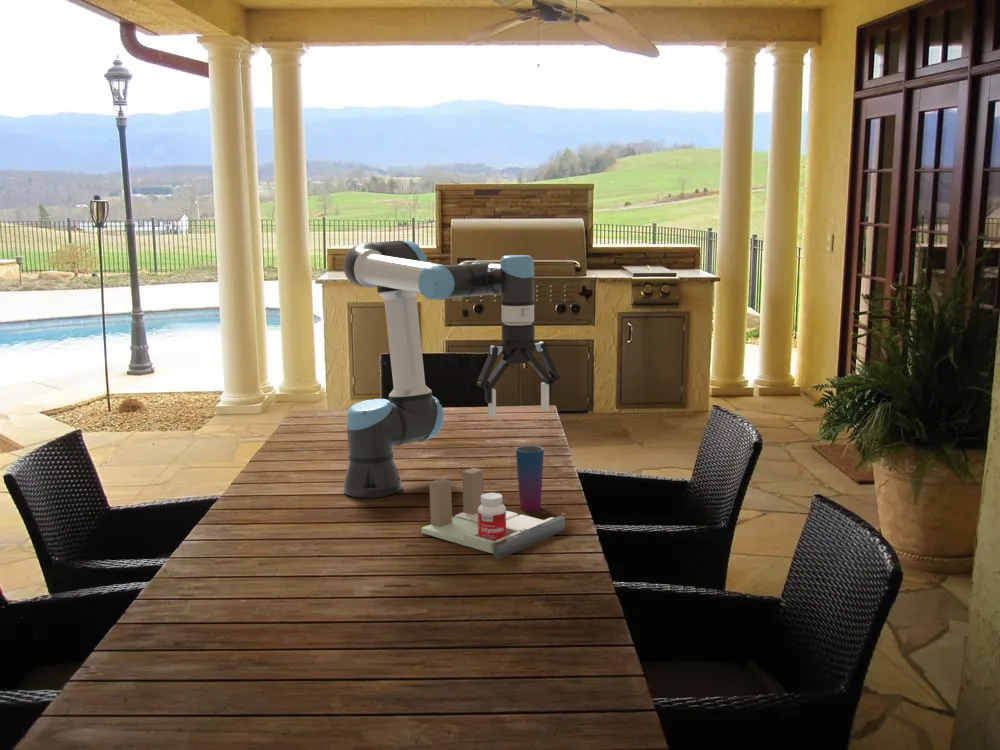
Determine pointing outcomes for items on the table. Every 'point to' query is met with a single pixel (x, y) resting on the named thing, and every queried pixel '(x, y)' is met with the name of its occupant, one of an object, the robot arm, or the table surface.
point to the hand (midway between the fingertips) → (519, 413)
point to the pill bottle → (491, 517)
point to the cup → (530, 476)
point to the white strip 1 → (474, 495)
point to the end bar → (528, 537)
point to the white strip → (524, 522)
